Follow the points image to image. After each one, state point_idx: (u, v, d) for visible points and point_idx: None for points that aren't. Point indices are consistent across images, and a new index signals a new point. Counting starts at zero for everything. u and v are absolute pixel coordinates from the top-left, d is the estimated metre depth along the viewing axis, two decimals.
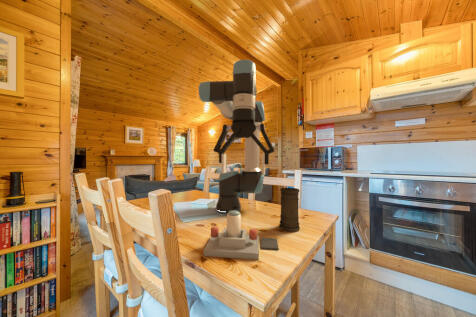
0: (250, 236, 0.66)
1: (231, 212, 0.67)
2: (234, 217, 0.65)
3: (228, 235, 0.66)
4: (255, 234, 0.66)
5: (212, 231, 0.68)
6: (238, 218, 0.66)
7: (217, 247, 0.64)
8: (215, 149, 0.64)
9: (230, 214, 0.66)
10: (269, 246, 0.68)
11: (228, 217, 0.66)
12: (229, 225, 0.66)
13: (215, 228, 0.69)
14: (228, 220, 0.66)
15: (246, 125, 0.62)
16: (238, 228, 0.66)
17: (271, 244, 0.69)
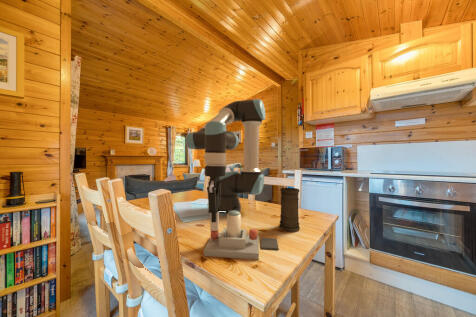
0: (250, 236, 0.66)
1: (231, 212, 0.67)
2: (234, 217, 0.65)
3: (228, 235, 0.66)
4: (255, 234, 0.66)
5: (212, 233, 0.68)
6: (238, 218, 0.66)
7: (217, 247, 0.64)
8: None
9: (230, 214, 0.66)
10: (269, 246, 0.68)
11: (228, 217, 0.66)
12: (229, 225, 0.66)
13: None
14: (228, 220, 0.66)
15: None
16: (238, 228, 0.66)
17: (271, 244, 0.69)
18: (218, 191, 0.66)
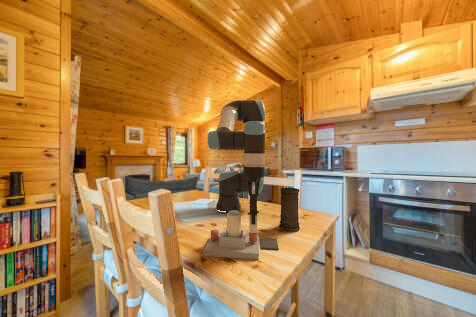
0: (250, 238, 0.66)
1: (231, 212, 0.67)
2: (234, 217, 0.65)
3: (228, 235, 0.66)
4: (255, 236, 0.66)
5: (212, 234, 0.68)
6: (238, 218, 0.66)
7: (217, 247, 0.64)
8: None
9: (230, 214, 0.66)
10: (269, 246, 0.68)
11: (228, 217, 0.66)
12: (229, 225, 0.66)
13: (215, 231, 0.69)
14: (228, 220, 0.66)
15: None
16: (238, 228, 0.66)
17: (271, 244, 0.69)
18: (258, 192, 0.65)
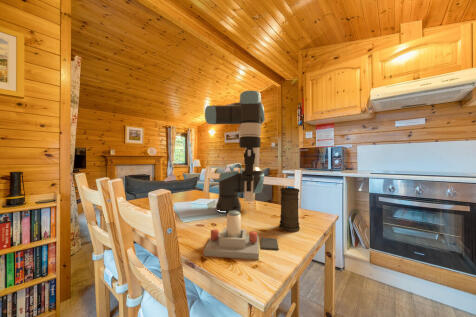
0: (250, 239, 0.66)
1: (231, 212, 0.67)
2: (234, 217, 0.65)
3: (228, 235, 0.66)
4: (255, 237, 0.66)
5: (212, 234, 0.68)
6: (238, 218, 0.66)
7: (217, 247, 0.64)
8: None
9: (230, 214, 0.66)
10: (269, 246, 0.68)
11: (228, 217, 0.66)
12: (229, 225, 0.66)
13: (215, 231, 0.69)
14: (228, 220, 0.66)
15: None
16: (238, 228, 0.66)
17: (271, 244, 0.69)
18: (254, 160, 0.63)
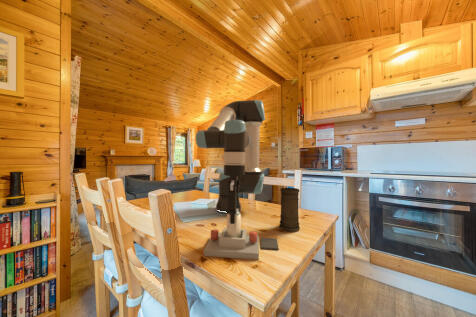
0: (250, 239, 0.66)
1: None
2: None
3: (228, 235, 0.66)
4: (255, 237, 0.66)
5: (212, 234, 0.68)
6: (238, 218, 0.66)
7: (217, 247, 0.64)
8: None
9: None
10: (269, 246, 0.68)
11: (228, 217, 0.66)
12: None
13: (215, 231, 0.69)
14: (228, 220, 0.66)
15: None
16: (238, 228, 0.66)
17: (271, 244, 0.69)
18: (238, 190, 0.65)
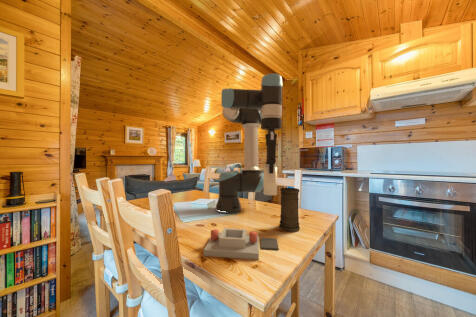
0: (250, 239, 0.66)
1: None
2: None
3: (266, 186, 0.69)
4: (255, 237, 0.66)
5: (212, 234, 0.68)
6: (275, 170, 0.68)
7: (217, 247, 0.64)
8: (266, 159, 0.76)
9: None
10: (269, 246, 0.68)
11: (266, 169, 0.68)
12: (266, 177, 0.68)
13: (215, 231, 0.69)
14: (266, 172, 0.68)
15: (268, 130, 0.68)
16: (276, 179, 0.68)
17: (271, 244, 0.69)
18: None
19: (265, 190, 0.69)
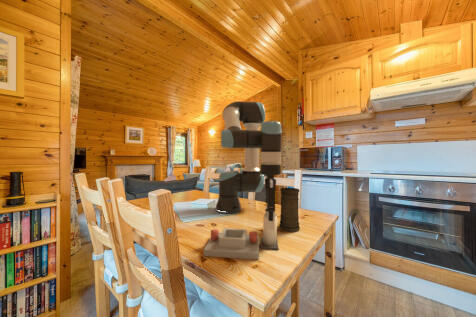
0: (250, 239, 0.66)
1: None
2: None
3: (265, 236, 0.69)
4: (255, 237, 0.66)
5: (212, 234, 0.68)
6: (275, 220, 0.69)
7: (217, 247, 0.64)
8: None
9: None
10: (269, 246, 0.68)
11: (266, 219, 0.69)
12: None
13: (215, 231, 0.69)
14: (266, 222, 0.69)
15: (267, 176, 0.69)
16: (275, 229, 0.69)
17: None
18: (275, 188, 0.67)
19: (264, 239, 0.69)
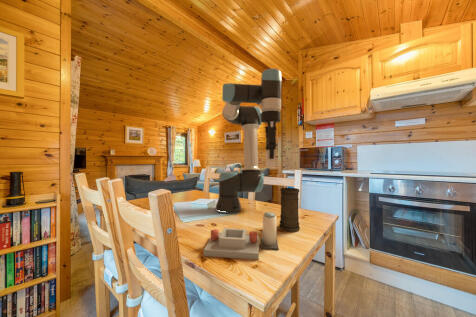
0: (250, 239, 0.66)
1: (267, 214, 0.70)
2: (271, 219, 0.68)
3: (265, 236, 0.69)
4: (255, 237, 0.66)
5: (212, 234, 0.68)
6: (275, 220, 0.69)
7: (217, 247, 0.64)
8: None
9: (267, 216, 0.69)
10: (269, 246, 0.68)
11: (265, 219, 0.69)
12: (266, 227, 0.69)
13: (215, 231, 0.69)
14: (265, 222, 0.69)
15: None
16: (275, 229, 0.69)
17: None
18: None
19: (264, 240, 0.69)
